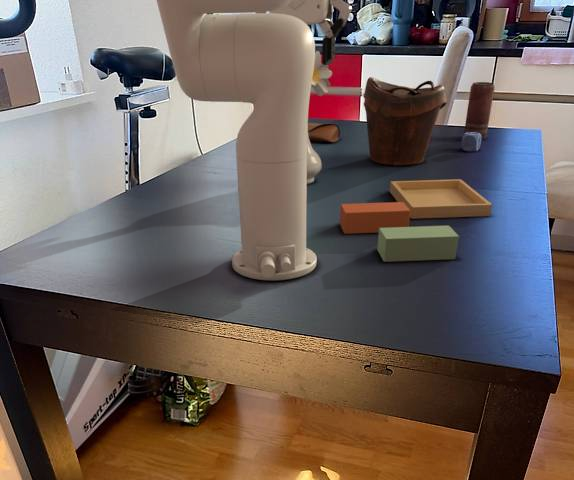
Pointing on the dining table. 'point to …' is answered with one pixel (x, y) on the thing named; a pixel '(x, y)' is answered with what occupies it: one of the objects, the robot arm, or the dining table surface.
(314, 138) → the sunglasses case
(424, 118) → the wooden bucket
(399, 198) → the wooden tray
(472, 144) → the decorative dice
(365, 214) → the pad terracotta
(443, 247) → the pad sage
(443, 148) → the dining table surface
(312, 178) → the flower vase
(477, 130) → the can
